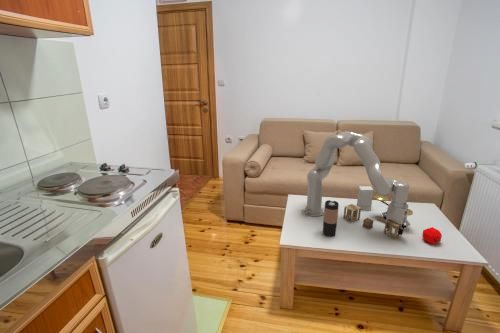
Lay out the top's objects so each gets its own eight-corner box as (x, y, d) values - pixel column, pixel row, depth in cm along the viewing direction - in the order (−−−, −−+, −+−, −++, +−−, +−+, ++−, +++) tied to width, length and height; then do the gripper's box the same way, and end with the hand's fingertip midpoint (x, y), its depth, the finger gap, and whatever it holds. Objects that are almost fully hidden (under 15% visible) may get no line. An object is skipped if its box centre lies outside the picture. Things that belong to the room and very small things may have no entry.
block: (368, 229, 171) (369, 222, 170) (362, 226, 175) (363, 219, 173) (372, 227, 173) (373, 220, 172) (366, 224, 177) (367, 217, 175)
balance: (404, 233, 167) (408, 211, 162) (367, 216, 187) (370, 196, 182) (412, 228, 171) (416, 207, 167) (375, 212, 191) (378, 192, 186)
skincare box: (368, 206, 200) (371, 186, 195) (371, 210, 194) (374, 189, 189) (356, 205, 201) (358, 185, 196) (358, 210, 194) (361, 189, 189)
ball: (432, 247, 154) (435, 234, 152) (419, 239, 161) (421, 227, 158) (442, 243, 157) (445, 231, 155) (428, 236, 164) (431, 224, 161)
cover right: (402, 235, 164) (404, 222, 161) (395, 238, 160) (397, 225, 157) (390, 229, 169) (393, 217, 166) (383, 233, 166) (385, 220, 163)
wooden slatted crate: (352, 222, 179) (353, 210, 176) (343, 218, 185) (344, 206, 182) (359, 219, 183) (360, 207, 180) (350, 215, 188) (351, 203, 185)
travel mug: (328, 238, 163) (331, 207, 156) (319, 232, 169) (322, 201, 163) (338, 234, 166) (341, 204, 160) (329, 228, 173) (332, 199, 166)
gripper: (417, 207, 153) (412, 235, 159) (387, 196, 167) (383, 222, 173) (410, 211, 149) (404, 240, 155) (380, 199, 163) (376, 226, 169)
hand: (393, 230), depth 164 cm, fingers open, 7 cm apart
